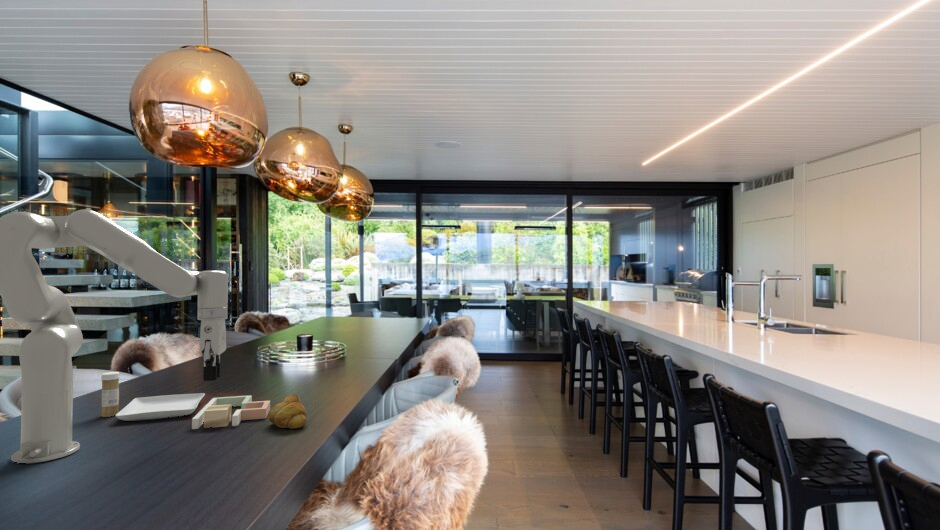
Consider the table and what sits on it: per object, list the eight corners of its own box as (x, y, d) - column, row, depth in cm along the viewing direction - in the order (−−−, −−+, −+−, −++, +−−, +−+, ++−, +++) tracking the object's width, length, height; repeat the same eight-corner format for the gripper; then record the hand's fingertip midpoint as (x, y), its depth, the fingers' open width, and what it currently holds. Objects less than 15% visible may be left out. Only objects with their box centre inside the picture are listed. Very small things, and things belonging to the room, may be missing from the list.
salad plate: (195, 418, 147) (195, 407, 147) (113, 426, 139) (113, 414, 140) (205, 401, 167) (205, 391, 167) (134, 407, 159) (134, 397, 159)
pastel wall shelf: (263, 423, 141) (263, 413, 141) (191, 429, 135) (192, 418, 136) (273, 402, 164) (273, 393, 164) (213, 406, 159) (213, 397, 159)
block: (226, 426, 138) (226, 409, 139) (203, 428, 137) (204, 411, 137) (231, 420, 144) (231, 404, 144) (209, 422, 143) (209, 405, 143)
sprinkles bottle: (118, 412, 152) (119, 370, 153) (119, 415, 149) (120, 373, 149) (100, 415, 149) (101, 372, 150) (100, 418, 146) (101, 374, 146)
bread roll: (313, 427, 137) (313, 400, 138) (279, 434, 131) (279, 406, 131) (297, 417, 147) (297, 391, 147) (264, 423, 141) (265, 397, 141)
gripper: (220, 316, 127) (219, 384, 126) (233, 311, 143) (232, 372, 142) (189, 316, 125) (188, 386, 124) (205, 312, 140) (204, 373, 140)
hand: (211, 378), depth 133 cm, fingers open, 3 cm apart
